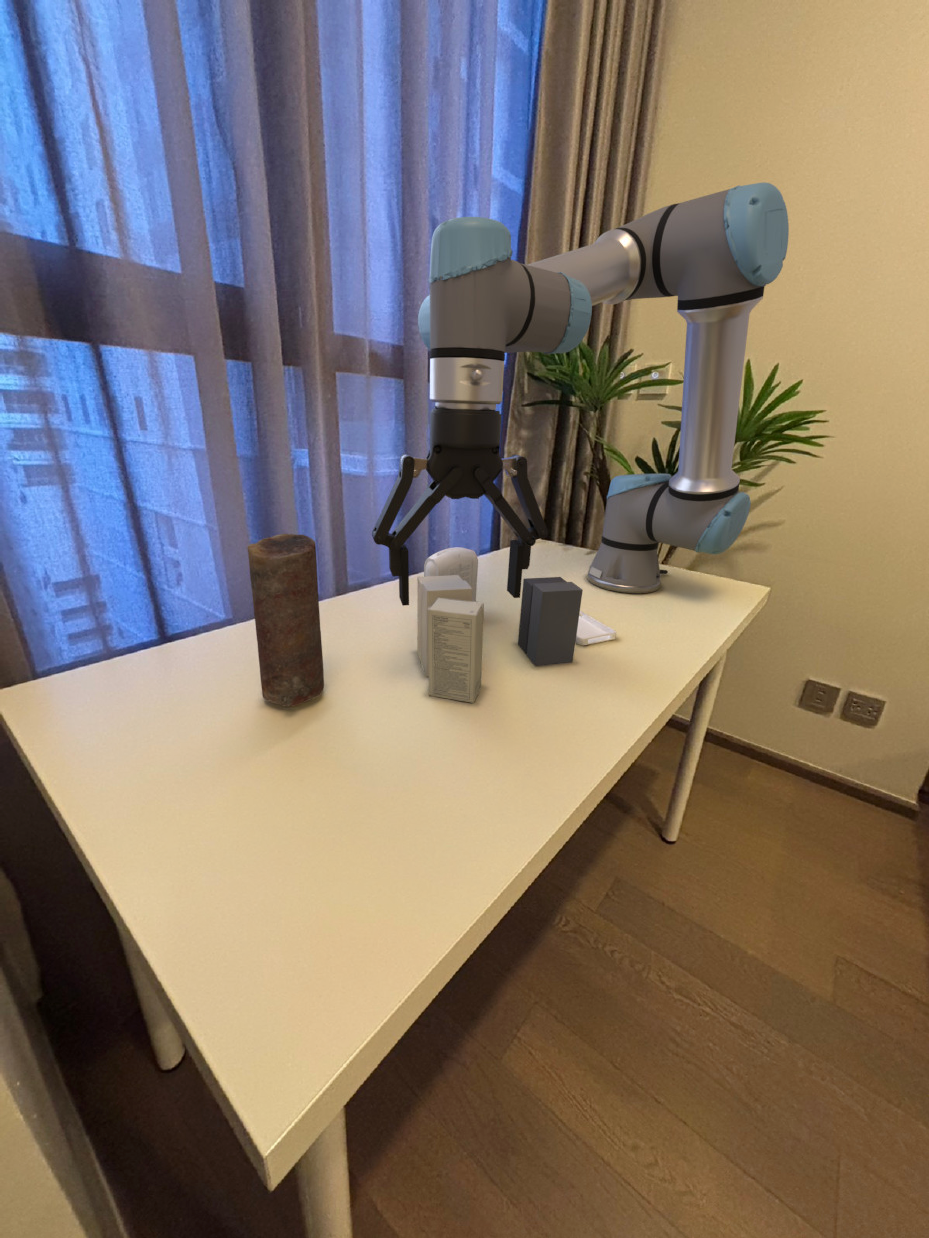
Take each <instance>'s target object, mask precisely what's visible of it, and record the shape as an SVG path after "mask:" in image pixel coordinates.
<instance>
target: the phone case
mask: <svg viewBox="0 0 929 1238" xmlns="http://www.w3.org/2000/svg"><path fill="white" fill-rule="evenodd" d="M616 635H617V631H616V630H615V629H613V628H612V627H609V626H608V625H606V624H604V623H603V622H601V621H599V620H598V619H596V618H594V617H593V616H590V615H589V614H587V613H585V612H584V611H582V610H580V613H579V620H578V628H577V635H576V642H575V644H577V645H579V646H588V645H593V644H597V643H598V644H599V643H603V642H608V641H612V640H613V641H614V640H616Z"/></svg>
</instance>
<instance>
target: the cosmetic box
mask: <svg viewBox="0 0 929 1238" xmlns="http://www.w3.org/2000/svg"><path fill="white" fill-rule="evenodd" d="M484 614H485V603H484V602H483V601H482V602H481V601H476V602H473V601H465V600H456V599H447V598H438V599H436V601H435V602H434V603H433V604H432V605H431V606H430V607H429V608H428V671H429V676H428V696H431V697H437V698H441V699H448V700H453V701H460V702H467V703H475V700H476V699H477V697H478V695H479V693H480V690H481V688H482V678H483V677H482V675H483V652H484V651H483V650H484V648H483V647H484V646H483V645H484V621H485V620H484V617H485V615H484Z"/></svg>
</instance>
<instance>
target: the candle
mask: <svg viewBox="0 0 929 1238" xmlns="http://www.w3.org/2000/svg"><path fill="white" fill-rule="evenodd" d="M246 549H247V556H248V567H249V579H250V586H251V597H252V604H253V614H254V623H255V633H256V643H257V653H258V654H257V655H258V665H259V678H260V686H261V695H262V698H263V699H264V700H265V701H267V702H270V703H273V704H275V705H279V706H283V707H286V708H291V707H294V706H299V705H301V704H303V703H305V702H309V701H310V700H313V699H315V698H318V697H319V696H321V694H322V692H323V691H324V687H325V679H324V678H325V677H324V676H325V674H324V673H325V672H324V657H323V644H322V643H323V642H322V631H321V616H320V600H319V599H320V598H319V583H318V563H317V562H318V561H317V547H316V541H315V539H313V538H312V537H310V536H308V535H306V534H294V533H281V534H276V535H273V536H268V537H264V538H261V539H259V540H258V541H256V542H255V543H249V545H247V548H246Z"/></svg>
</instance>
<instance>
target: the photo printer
mask: <svg viewBox="0 0 929 1238" xmlns="http://www.w3.org/2000/svg"><path fill="white" fill-rule="evenodd" d="M478 569H479V558H478V555H477V553H476V551H475V550H473V549H469V548H467V547H462V546H461V547H460V546H459V547H458V546H457V547H448V548H444V549H442V550H439V551H438V552H435V553H433V554H432V555H429V556H428V557H427V558H426V559H425V561H424V565H423V577H427V576H450V575H459V576H460V578H461V579H462V580H466V581H467V583H468V584H469V585H470V586H471V588H472V601H473V602H477V589H478V588H477V587H478V573H479V572H478Z"/></svg>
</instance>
